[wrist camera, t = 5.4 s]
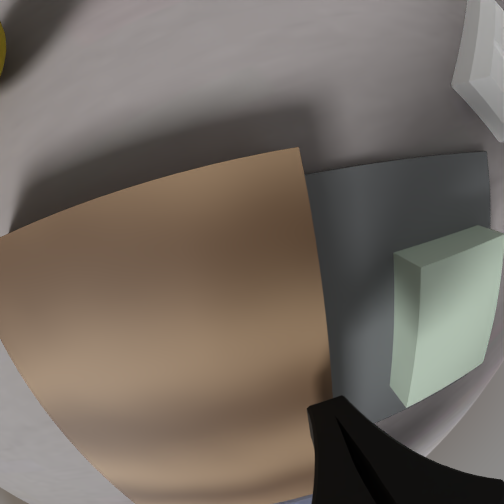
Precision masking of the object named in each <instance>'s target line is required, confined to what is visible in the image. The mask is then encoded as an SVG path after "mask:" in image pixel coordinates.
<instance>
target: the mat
mask: <svg viewBox="0 0 504 504" xmlns="http://www.w3.org/2000/svg"><path fill="white" fill-rule="evenodd" d="M304 176H305V181H306V186H307V192H308V197H309V203H310V208H311V214H312V220H313V226H314V233H315V239H316V246H317V252H318V259H319V266H320V273H321V281H322V289H323V297H324V305H325V314H326V323H327V332H328V342H329V353H330V365H331V378H332V392H333V398H335V397H338V396H341V395H343V396H345V397H346V398H347V399H348V400H349V401H350V402H351V403H352V404H353V405H354V406H355V407H356V408H357V409H358V410H359V411H360V412H361V413H362V414H363V415H364V416H365V417H367V418H368V419H369V420H370V421H371V422H372V423H376V422H379V421H381V420H383V419H385V418H388V417H390V416H392V415H394V414H396V413H398V412H401V411H403V410H405V409H407V408H409V407H411V406H413V405H415V404H417V403H419V402H420V401H419V402H417V403H415V404H413V405H411V406H409V407H407V408H406V407H405V406H404V404H403V403H402V402H401V400H400V399H399V398H398V396H397V395H396V394H395V392H394V391H393V390H392V388H391V387H390V377H391V367H392V353H393V336H394V257H393V253H394V252H397V251H401V250H404V249H407V248H410V247H413V246H416V245H420V244H423V243H426V242H429V241H432V240H435V239H438V238H441V237H444V236H447V235H450V234H453V233H456V232H459V231H462V230H465V229H468V228H471V227H474V226H477V225H479V226H482V227H485V228H489V229H490V184H489V170H488V160H487V152H486V151H478V152H465V153H453V154H443V155H433V156H424V157H415V158H407V159H399V160H392V161H384V162H377V163H371V164H364V165H358V166H351V167H345V168H339V169H333V170H328V171H322V172H316V173H311V174H306V175H304ZM465 375H466V374H465ZM465 375H464V376H465ZM462 377H463V376H462ZM462 377H461V378H462ZM459 379H460V378H459ZM459 379H457V380H459ZM457 380H456V381H457ZM454 382H455V381H454ZM454 382H452V383H454ZM452 383H451V384H452ZM451 384H449V385H451ZM449 385H448V386H449ZM446 387H447V386H446ZM444 388H445V387H444ZM444 388H442V389H444ZM442 389H441V390H442ZM439 391H440V390H439ZM439 391H437V392H439ZM437 392H436V393H437ZM434 394H435V393H434ZM432 395H433V394H432ZM432 395H430V396H432ZM430 396H428V397H430ZM428 397H427V398H428ZM425 399H426V398H425ZM423 400H424V399H423ZM421 401H422V400H421Z"/></svg>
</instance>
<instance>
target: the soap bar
mask: <svg viewBox="0 0 504 504" xmlns="http://www.w3.org/2000/svg"><path fill="white" fill-rule="evenodd" d="M451 87H452V88H453V89H454V90H455V91H456V92H457V93H458V94H459V95H460V96H461V97H462V98H463V99H464V100H465V102H466V103H467V104H468V105H469V106H470V107H471V108H472V109H473V110H474V112H475V113H476V114H477V115H478V116H479V118H480V119H481V120H482V121H483V122H484V124H485V125H486V126H487V127H488V129H489V130H490V131H491V132H492V134H493V135H494V136H495V138H496V139H497V140H498V142H504V10H503V9H502V8H501V7H500V6H499V4H498V3H497V2H496V1H495V0H467V7H466V14H465V21H464V27H463V32H462V38H461V43H460V48H459V53H458V57H457V62H456V66H455V70H454V74H453V78H452V82H451Z"/></svg>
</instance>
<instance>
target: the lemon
mask: <svg viewBox="0 0 504 504" xmlns="http://www.w3.org/2000/svg"><path fill="white" fill-rule="evenodd" d="M5 56H6V37H5V32H4V30H3V27H2V25H1V22H0V76H1V73H2V70H3V67H4V62H5Z"/></svg>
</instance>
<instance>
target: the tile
mask: <svg viewBox="0 0 504 504" xmlns="http://www.w3.org/2000/svg"><path fill="white" fill-rule="evenodd" d="M503 253H504V234H503V233H501V232H498V231H495V230H492V229H489V228H485V227H482V226H479V225H477V226H474V227H471V228H468V229H465V230H462V231H459V232H456V233H453V234H450V235H447V236H444V237H441V238H438V239H435V240H432V241H429V242H426V243H423V244H420V245H416V246H413V247H410V248H407V249H404V250H401V251H397V252H394V253H393V257H394V336H393V353H392V367H391V377H390V387H391V388H392V390H393V391H394V392H395V394H396V395H397V396H398V398H399V399H400V400H401V402H402V403H403V404H404V406H405V407H406V408H407V407H409V406H411V405H413V404H415V403H417V402H419V401H421V400H423V399H425V398H427V397H428V396H430V395H432V394H434V393H436V392H437V391H439V390H441V389H442V388H444V387H446V386H448V385H449V384H451V383H452V382H454V381H456V380H457V379H459V378H461V377H462V376H464V375H465V374H467V373H468V372H470V371H471V370H473V369H474V368H476V367H477V366H479V365H480V364H481V363H483V360H484V357H485V353H486V350H487V346H488V342H489V338H490V334H491V330H492V325H493V321H494V316H495V311H496V306H497V300H498V294H499V288H500V281H501V273H502V264H503Z"/></svg>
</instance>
